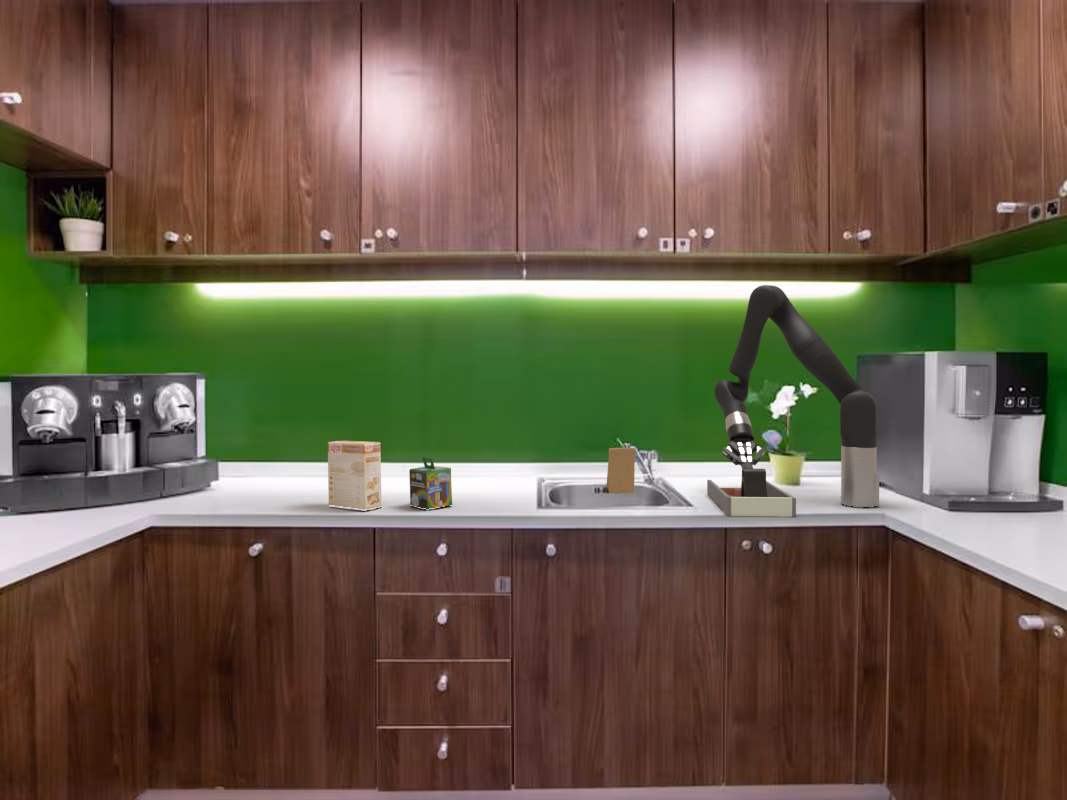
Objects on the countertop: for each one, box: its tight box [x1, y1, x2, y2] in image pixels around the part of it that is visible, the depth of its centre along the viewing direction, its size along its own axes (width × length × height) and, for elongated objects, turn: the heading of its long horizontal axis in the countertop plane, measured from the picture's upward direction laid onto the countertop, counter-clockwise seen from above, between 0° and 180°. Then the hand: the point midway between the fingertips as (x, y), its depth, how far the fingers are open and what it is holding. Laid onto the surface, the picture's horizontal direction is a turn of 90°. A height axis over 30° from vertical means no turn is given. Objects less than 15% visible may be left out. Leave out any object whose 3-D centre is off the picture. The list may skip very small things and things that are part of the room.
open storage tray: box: [706, 479, 797, 518], centre depth 190 cm, size 18×32×5 cm, turn 174°
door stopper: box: [740, 468, 767, 497], centre depth 181 cm, size 9×6×12 cm, turn 174°
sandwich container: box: [606, 447, 636, 494], centre depth 220 cm, size 9×15×15 cm, turn 178°
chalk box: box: [409, 456, 453, 509], centre depth 190 cm, size 9×9×15 cm
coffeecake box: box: [327, 440, 382, 509], centre depth 189 cm, size 15×7×20 cm, turn 59°
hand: (748, 474), depth 188 cm, fingers closed
